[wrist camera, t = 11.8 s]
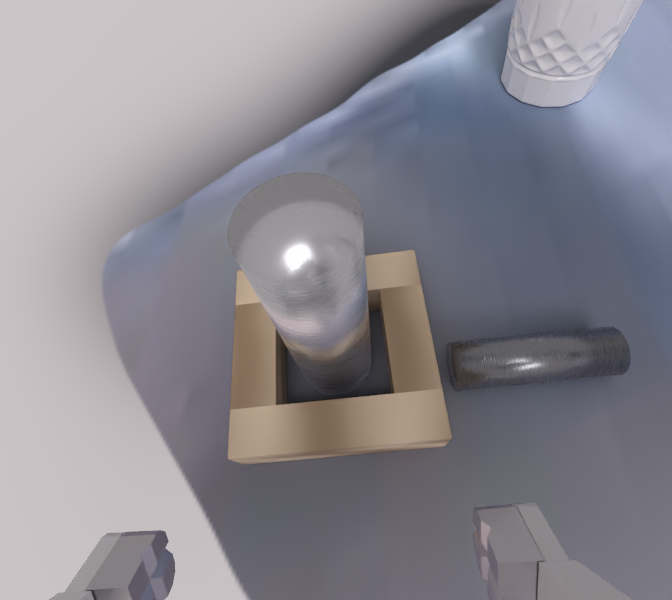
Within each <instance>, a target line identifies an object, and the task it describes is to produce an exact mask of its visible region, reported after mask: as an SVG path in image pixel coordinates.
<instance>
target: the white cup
mask: <svg viewBox="0 0 672 600" xmlns="http://www.w3.org/2000/svg"><path fill="white" fill-rule="evenodd" d="M643 2H644V0H516V1H515V5H514V10H513V14H512V19H511V26H510V31H509V35H508V47H507V54H506V58H505V63H504V67H503V71H502V76H501V81H502V83H503V85H504V87H505V89H506V91H507V92H508V93H509V94H511V95H512V96H513V97H515V98H516V99H518V100H520V101H521V102H524V103H527V104H531V105H535V106H539V107H563V106H566V105H569V104H572V103H575V102H578V101H581V100H582V99H583V98H584V97H585V96H586V95H587V94H588V93H589V92H590V91H591V90H592V89H593V87H594V86H595V84H596V82H597V80H598V78H599V77H600V75H601V73H602V71H603V69H604V67H605V66H606V64H607V62H608V60H609V59H610V58H611V56H612V55H613V53H614V52H615V50H616V49H617V47H618V45H619V44H620V42H621V40H622V38H623V36H624V34H625V33H626V31H627V30H628V28H629V26H630V25H631V23H632V21H633V20H634V18H635V16H636V14H637V13H638V11H639V9H640V7H641V5H642V4H643Z"/></svg>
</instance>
